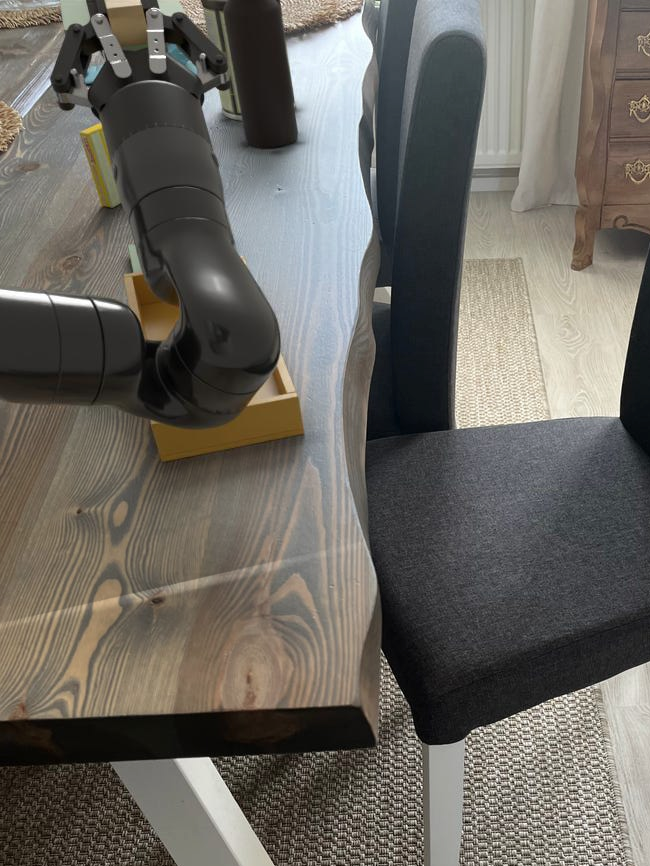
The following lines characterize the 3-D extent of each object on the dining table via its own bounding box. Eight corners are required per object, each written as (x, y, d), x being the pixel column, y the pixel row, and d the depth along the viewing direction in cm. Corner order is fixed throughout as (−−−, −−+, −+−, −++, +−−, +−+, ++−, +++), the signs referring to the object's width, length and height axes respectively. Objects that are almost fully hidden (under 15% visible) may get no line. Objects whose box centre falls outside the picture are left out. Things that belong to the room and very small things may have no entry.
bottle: (244, 133, 132) (211, -47, 118) (295, 128, 134) (269, -52, 119) (248, 151, 128) (215, -34, 114) (301, 145, 129) (275, -39, 115)
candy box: (192, 159, 127) (177, 87, 121) (205, 161, 126) (190, 89, 120) (98, 205, 117) (77, 129, 111) (112, 209, 116) (91, 133, 110)
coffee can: (278, 92, 144) (261, -24, 134) (307, 112, 138) (292, -7, 128) (210, 105, 141) (187, -12, 131) (237, 127, 134) (215, 5, 124)
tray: (304, 433, 83) (298, 396, 80) (161, 462, 80) (150, 425, 78) (250, 288, 101) (243, 254, 99) (132, 308, 99) (122, 273, 96)
